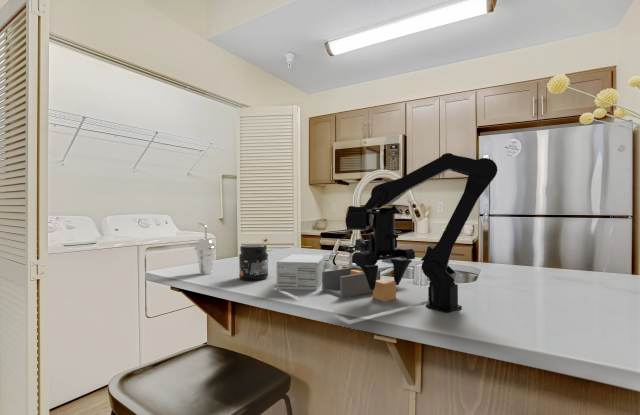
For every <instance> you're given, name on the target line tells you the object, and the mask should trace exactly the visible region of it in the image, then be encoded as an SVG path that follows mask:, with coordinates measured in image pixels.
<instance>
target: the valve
mask: <svg viewBox="0 0 640 415" xmlns="http://www.w3.org/2000/svg"><path fill="white" fill-rule="evenodd" d="M341 249H342V250H345V252H347V253H348V254H349V255H348V262H346V266H347V268H350V267H351V264H355V263H352V255H353V254H354V253H355V252H357V250H356V247H355V244H354V245H353V244H343V245H341Z"/></svg>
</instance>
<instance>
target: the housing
mask: <svg viewBox="0 0 640 415" xmlns="http://www.w3.org/2000/svg"><path fill="white" fill-rule="evenodd" d="M356 269H359V268H355V267H350V268H348V267H345V268H339V269H330V270H325V271H322V284H321V290H322V291H323V292H324V293H325V292H326V293H328V294H330V295H334V296H336V297H339V298H342V299H344V298H348V297H353V296H354V297H355V296H357V295H363V294H369V293H373V290H371V289H370V287H369V284H368V281H367V278H366V276H365V273H360V274H353V275H350V270H356ZM376 280H381V270H378V271H377V277H376ZM337 289H338V290H337Z"/></svg>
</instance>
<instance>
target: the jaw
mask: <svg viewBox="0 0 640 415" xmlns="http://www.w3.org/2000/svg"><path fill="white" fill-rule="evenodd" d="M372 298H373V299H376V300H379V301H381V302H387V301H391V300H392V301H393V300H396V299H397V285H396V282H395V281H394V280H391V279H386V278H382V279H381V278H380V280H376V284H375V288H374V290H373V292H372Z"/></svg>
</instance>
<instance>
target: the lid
mask: <svg viewBox="0 0 640 415" xmlns="http://www.w3.org/2000/svg"><path fill="white" fill-rule="evenodd" d="M390 259H392V258H390ZM390 259H383V260H378V261H377V263H376V264H375V265H378V271H383V270H389V269H394V267H393V264H392V262H391V260H390ZM351 267H355V268H359V269H361V267H360V266H357V265H356V264H351Z"/></svg>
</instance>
